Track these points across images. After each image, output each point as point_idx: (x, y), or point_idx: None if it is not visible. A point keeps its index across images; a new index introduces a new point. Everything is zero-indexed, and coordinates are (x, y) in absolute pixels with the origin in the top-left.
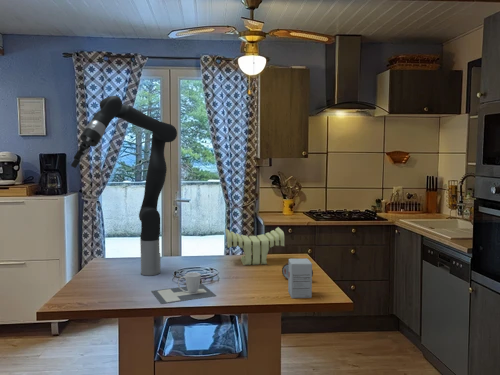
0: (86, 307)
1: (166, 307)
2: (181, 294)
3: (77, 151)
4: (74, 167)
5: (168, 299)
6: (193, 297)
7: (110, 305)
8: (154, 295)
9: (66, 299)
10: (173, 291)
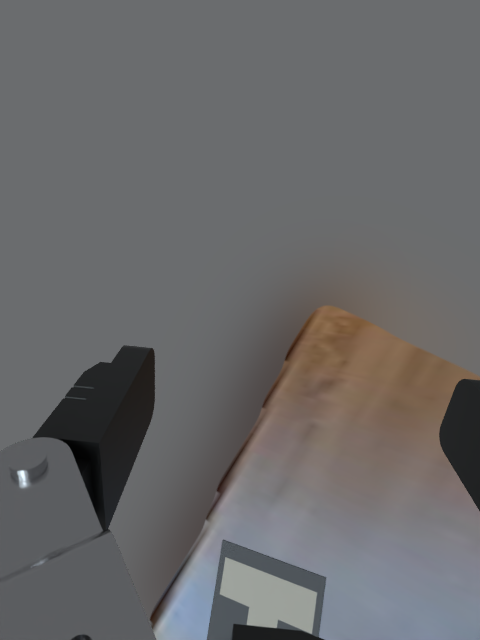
0: (293, 389)
1: (199, 537)
2: (254, 625)
3: (72, 422)
4: (453, 425)
5: (238, 572)
6: (219, 633)
7: (276, 439)
8: (285, 563)
9: (377, 362)
10: (288, 626)
